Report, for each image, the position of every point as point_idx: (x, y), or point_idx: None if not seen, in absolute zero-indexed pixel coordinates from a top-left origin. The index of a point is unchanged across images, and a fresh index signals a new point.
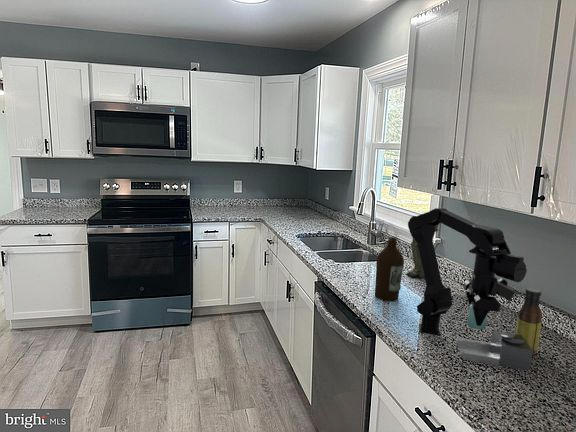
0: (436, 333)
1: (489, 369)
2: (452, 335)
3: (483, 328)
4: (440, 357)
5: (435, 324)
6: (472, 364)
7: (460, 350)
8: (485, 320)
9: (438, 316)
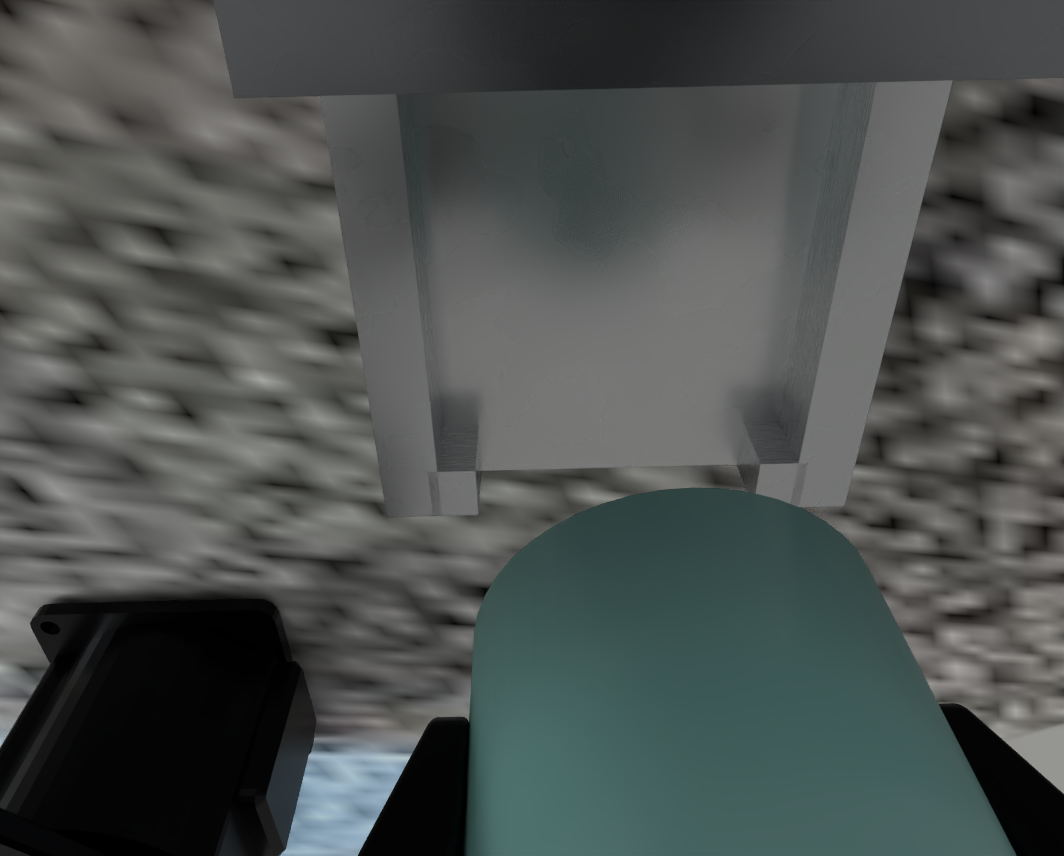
0: (271, 647)
1: (1045, 184)
2: (154, 480)
3: (861, 566)
4: None
5: (274, 775)
6: (926, 370)
7: (621, 464)
8: (950, 748)
9: (166, 848)
